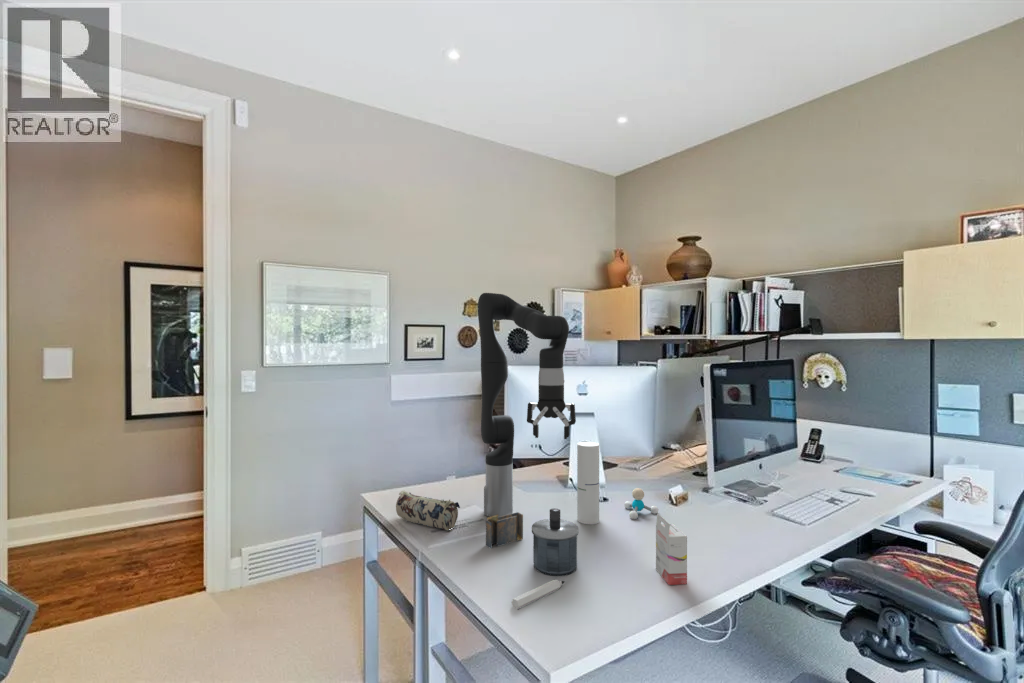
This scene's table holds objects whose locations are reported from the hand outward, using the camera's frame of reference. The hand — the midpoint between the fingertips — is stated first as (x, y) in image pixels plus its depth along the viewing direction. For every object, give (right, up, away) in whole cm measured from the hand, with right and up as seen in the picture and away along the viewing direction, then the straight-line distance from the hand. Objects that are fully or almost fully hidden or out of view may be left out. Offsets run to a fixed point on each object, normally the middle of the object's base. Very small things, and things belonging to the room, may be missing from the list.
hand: (551, 438), depth 142 cm
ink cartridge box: (+28, -30, -22) cm, 47 cm away
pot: (0, -30, -16) cm, 34 cm away
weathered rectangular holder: (-14, -31, -1) cm, 34 cm away
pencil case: (-39, -30, +13) cm, 51 cm away
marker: (-5, -31, -31) cm, 44 cm away
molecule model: (+32, -31, +23) cm, 50 cm away
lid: (0, -21, -16) cm, 27 cm away
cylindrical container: (+13, -30, +16) cm, 37 cm away
